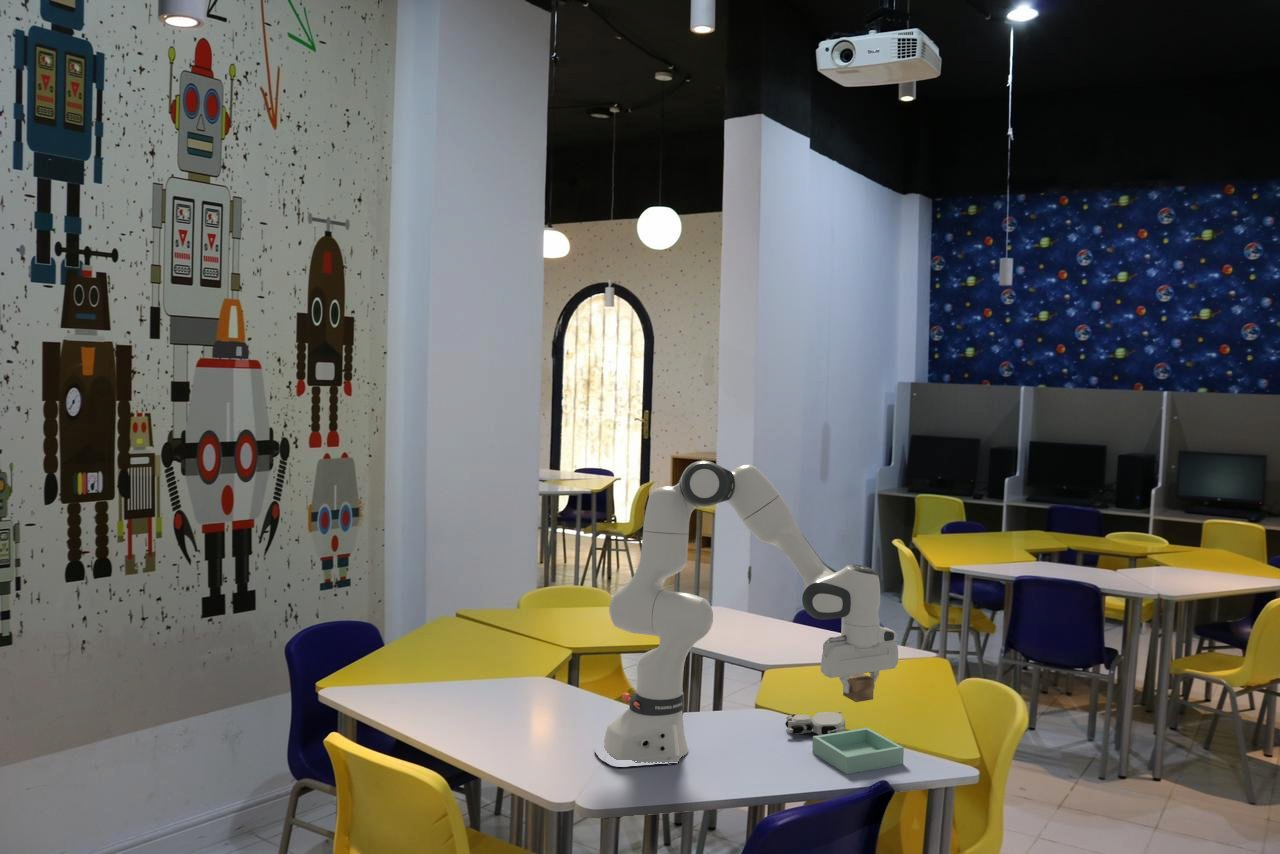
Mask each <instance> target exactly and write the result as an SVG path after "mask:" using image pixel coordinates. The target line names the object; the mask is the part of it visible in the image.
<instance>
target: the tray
mask: <svg viewBox="0 0 1280 854" xmlns="http://www.w3.org/2000/svg"><path fill="white" fill-rule="evenodd" d="M904 748H905V747H903V746H902V745H900V744H898V743H896V742H894V741H892V740H891V739H889V738H887V737H885V736H883V735H881V734H880V733H878V732H876V731H874V730H873V729H871V728H869V727H864V728H857V729H851V730H844V731H843V732H837V733H831V734H825V735H813V736H812V754H813V755H815V756H817V757H819V758H820V759H822V760H823V759H824V761H825V762H826V763H828V764H830V765H831V766H833V767H834V768H836V769H837V770H839V771H840V772H842V773H844V774H846V775H850V774H855V773H861V772H867V771H873V770H879V769H884V768H889V767H896V766H902V765H904V751H905V749H904Z"/></svg>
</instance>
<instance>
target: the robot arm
mask: <svg viewBox="0 0 1280 854" xmlns="http://www.w3.org/2000/svg"><path fill="white" fill-rule="evenodd" d="M723 502H725V503H728V504H729V506H731V507H732V508H733V509H734V511H735V513H737V515H738V517H739V518H740V519H741V521H742V522H743V524H744V526H746V529H748V531H749V532H750V533H751V534H752V535H753V536H755V538H756V539H757V540H758V541H760V542H762V543H765V544H769V545H772V546H775V547H776V548H778V549H779V550H780V551H781V552H783V553H784V554H785V556H786V558H787V559H788V560H789V561H790V563H791V564H792V565H793V567H794V568H795V569H796V571H797V572H798V573H799V575H800V576H801V578H802V580H803V583H804V589H803V590H804V591H803V592H802V593H803V594H802V596H801V597H802V598H801V601H802V605H803V608H804V611H805V612H806V613H807V614H808V615H809V616H810V617H812V618H814V619H816V620H835V619H841V632H840V633H841V635H838V636H835V637H828V639H826V640H825V641H824V643H823V644H822V655H821V661H820V672H821V673H822V675H824V677H825V676H826V678H829V679H835V678H838V679H839V680H840V682H841V684H842V692H843V691H844V692H845V693H852V689H853V686H852V685H850V684H849V683H848V681H847V680H849V675H855V674H861V673H863V674H866V673H868V674H869V677H871V678H873V679H874V689H875V683H876V682H877V680H878V678H879V676H880V671H886V670H892V669H896V668H897V665H898V663H899V646H898V642H897V639H898V632H896V631H895V630H893V629H891V628H888V627H886V626H883V625H880V617H879V611H880V610H879V609H880V607H881V584H880V583H881V582H880V578H879V574H877V572H876V571H875V570H874V569H872V568H871V567H868V566H865V565H861V564H852V563H851V564H847V565H846V566H845V567H844V568H842V569H839V570H838V571H837V570H835V569H834V568H832V567H831V566H828V565H827V564H826V563H825V562H824V561H823V560H822V559H821V558H820V556H819V555H818V554H817V553H816V551H815V550H814V548H813V547H812V546H811V544H810V543H809V542H808V541H807V540H808V539H806V537H805V536H804V534H803V533H802V532H801V530H800V528H799V525H798V524H797V523H796V520H795V518H794V516H793V513H792V511H791V510H790V509H789V507H788V505H787V503H786V501H785V500H784V499H783V496H782V495H781V494H780V492H779V491H778V490H777V488H776V487H775V486H774V484H773V483H772V482H771V481H770V480H769V479H768V477H766V475H765V474H764V473H763V472H762V471H761V470H760V469H759V468H757V467H756V466H754V465H753V464H743V465H740V466H738V467H735V468H734V469H733V470H729V469H727V468H725V467H722V466H720V465H719V464H717V463H714V462H712V461H710V460H704V459H703V460H698V461H694V462H692V463H690V464H689V465H688V466H686V468H685V469H684V470H683V472H682V474H681V477H680V478H679V480H678V481H677V483H676V484H675V485H672V486H671V485H668V486H667V485H665V486H660V487H657V488H655V489H653V490H652V491H651V492H650V494H649V497H648V500H647V503H646V509H645V513H644V520H643V526H642V527H643V529H642V541H641V552H640V558H639V563H638V566H637V569H636V571H635V573H634V574H633V575H632V578H631V579H630V580H629V582H627V583H626V585H624V586H623V587H622V588H619V590H618V591H616V592H615V593H614V595H613V596H612V598H611V600H610V604H609V609H608V611H609V612H608V613H609V617H610V620H611V622H612V624H613V626H614V627H615V628H617V629H620V630H622V631H625V632H629V633H631V634H634V635H635V634H637V635H643V636H644V635H645V636H653V637H656V638H658V639H659V644H658V647H657V648H656V647H655V648H653V649H651V650H648V651H646V652H645V653H643V654H641V656H640V657H639V659H638V661H637V664H636V690H635V691H634V694H632V695H631V694H630V693H629V692H623V694H622V696H621V698H622V701H624V702H625V703H627V704H629V707H628V708H627V709H626V710H625V711H624V712H622V714H620V715H619V716H618V717H617V718H615V719H614V720H613V721H612V722H610V723H609V724H608V725H607V727H606V730H605V733H604V734H605V735H604V741H603V743H604V748H605V750H606V751H607V753H609V755H610V756H611V757H613V758H614V759H616V760H632V761H634V762H635V761H637V762H635V763H641V762H644V763H646V762H648V763H650V762H651V763H653V762H655V763H657V762H659V763H660V762H662V763H665V762H668V763H669V762H678V761H679V759H680V757H682V756H683V757H685V756H686V755H687V754H688V753H689V747H688V745H687V740H686V739H687V738H686V736H685V726H684V713H685V692H684V691H683V681H684V671H685V669H684V667H685V662H686V658H687V656H688V654H689V652H690V650H691V648H693V646H694V645H696V643H698V641H700V640H702V639H703V638H704V637H705V636H707V635H708V633H709V632H710V630H712V629H711V628H712V626H713V622H714V611H713V607H712V606H711V603H710V602H709V601H708V600H707V599H706V598H705V597H701V596H699V595H696V594H692V593H690V592H680V591H673V590H672V591H671V590H664V589H663V587H664V583H665V581H666V580H667V579H668V578H670V577H672V576H674V575H677V574H678V573H680V572H681V571H683V570H684V569H685V567H686V565H687V563H688V552H689V535H690V534H689V533H690V521H691V515H692V513H693V511H694V510H695V509H696V508H698V507H701V508H702V507H703V508H707V507H710V506H714V505H717V504H720V503H723ZM684 755H685V756H684ZM683 757H682V758H683ZM680 760H681V759H680ZM679 762H680V761H679Z"/></svg>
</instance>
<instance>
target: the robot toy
mask: <svg viewBox="0 0 1280 854" xmlns="http://www.w3.org/2000/svg"><path fill="white" fill-rule="evenodd" d="M842 712H843V711H838V712H836V711H820V712H817V713H816V714H814V716H811V715H810V714H795V713H794V714H792V715H791V714H790V715H787V716H786V722H785V727H786V729H785V732H786V733H787V734H791V733H792V734H793V735H796V734H797V735H804V734H810V733H811V732H812V731H813V732H814V733H816V735H817V736H819V735H825V734H831V733H837V732H844V731H846V730H845V729H846V719H845V718H844V716H843V715H842Z"/></svg>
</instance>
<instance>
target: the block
mask: <svg viewBox="0 0 1280 854" xmlns="http://www.w3.org/2000/svg"><path fill="white" fill-rule="evenodd" d="M847 681H848V683H849V684H850V685H852V686H853V689H852V693H845V692H844V691H843V690H842V693H843V694H842V696H843V697H845V698H847V699H848V700H851V701H853V702H855V703H859V702H866V701H872V700H874V690H875V688H874V679H873V678H871V677H870V675H867V674H866V673H861V674H855V675H849V680H847Z"/></svg>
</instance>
